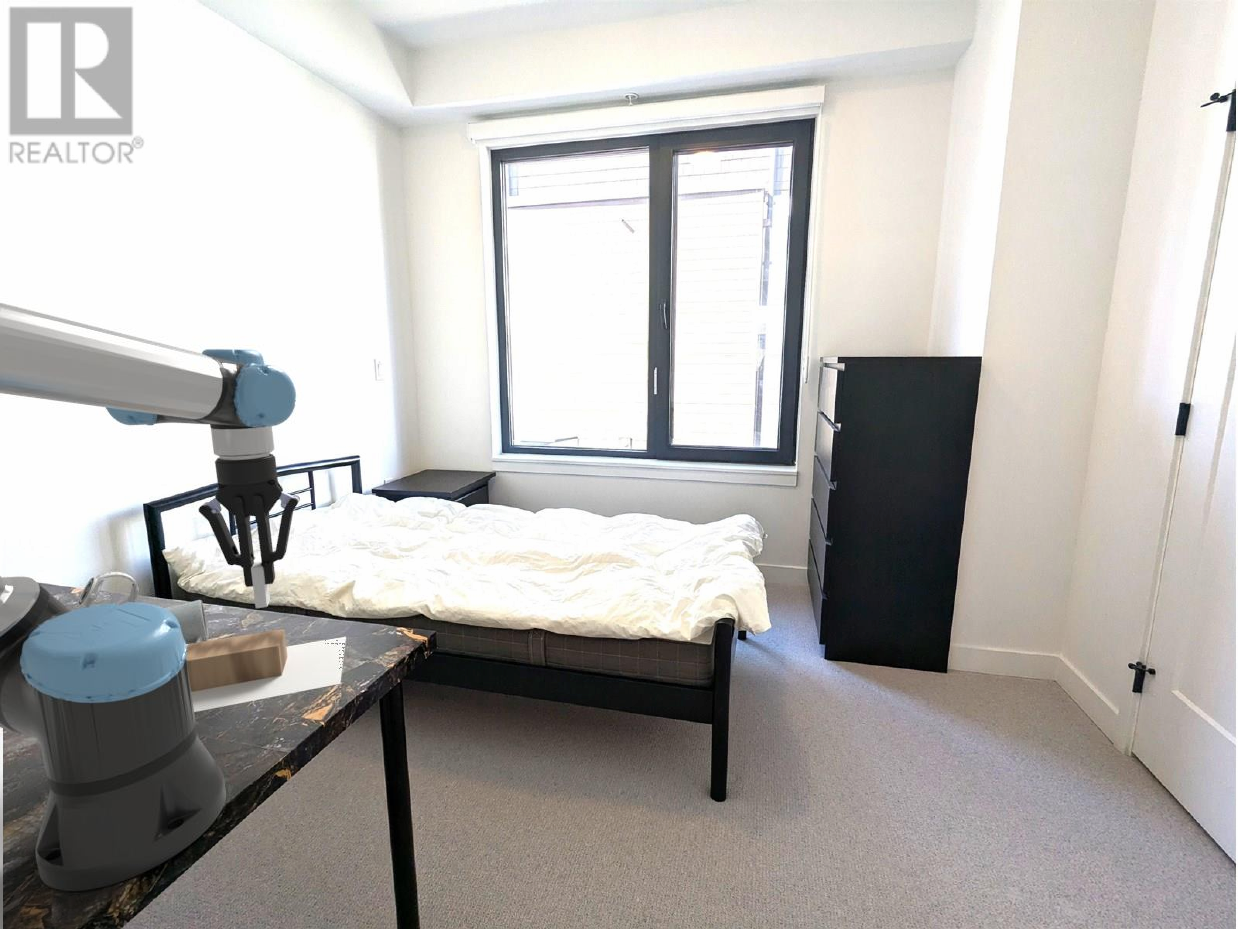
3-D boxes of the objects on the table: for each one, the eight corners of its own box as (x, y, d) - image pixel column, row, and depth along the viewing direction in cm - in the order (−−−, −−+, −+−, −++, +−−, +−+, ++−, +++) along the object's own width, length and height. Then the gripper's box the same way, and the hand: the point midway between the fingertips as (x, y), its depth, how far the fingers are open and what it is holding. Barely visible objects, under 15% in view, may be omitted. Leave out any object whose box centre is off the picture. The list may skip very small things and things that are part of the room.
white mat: (340, 686, 86) (340, 683, 86) (163, 720, 77) (162, 718, 77) (346, 638, 100) (346, 636, 100) (197, 663, 92) (196, 661, 92)
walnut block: (278, 645, 87) (167, 664, 82) (281, 675, 88) (172, 695, 83) (284, 629, 92) (180, 645, 87) (287, 657, 93) (184, 674, 88)
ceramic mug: (150, 646, 97) (143, 605, 96) (208, 632, 102) (202, 593, 101) (147, 674, 89) (140, 629, 88) (210, 658, 94) (204, 615, 93)
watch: (84, 634, 102) (73, 576, 100) (141, 619, 107) (132, 564, 105) (87, 644, 98) (76, 585, 96) (146, 629, 104) (137, 572, 102)
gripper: (298, 449, 89) (312, 589, 94) (199, 453, 84) (219, 601, 89) (291, 456, 83) (307, 607, 87) (183, 462, 78) (206, 621, 82)
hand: (263, 604), depth 88 cm, fingers closed
